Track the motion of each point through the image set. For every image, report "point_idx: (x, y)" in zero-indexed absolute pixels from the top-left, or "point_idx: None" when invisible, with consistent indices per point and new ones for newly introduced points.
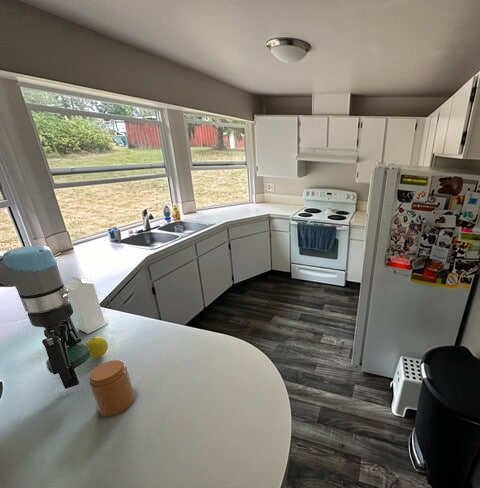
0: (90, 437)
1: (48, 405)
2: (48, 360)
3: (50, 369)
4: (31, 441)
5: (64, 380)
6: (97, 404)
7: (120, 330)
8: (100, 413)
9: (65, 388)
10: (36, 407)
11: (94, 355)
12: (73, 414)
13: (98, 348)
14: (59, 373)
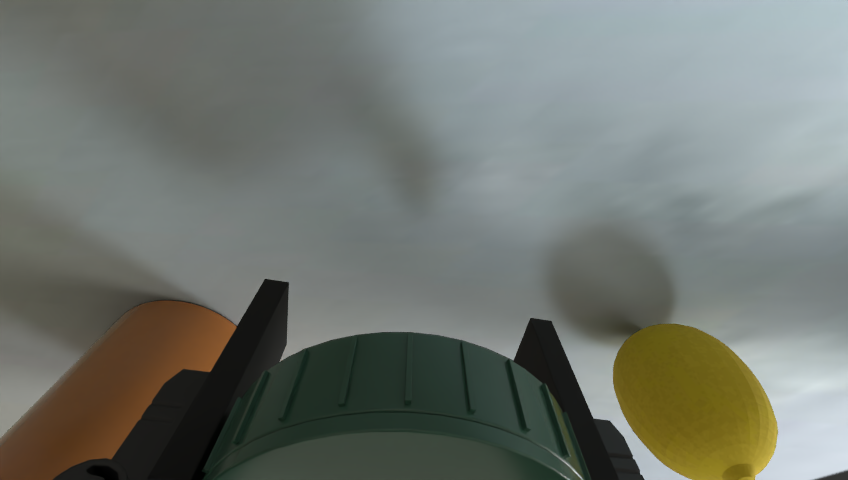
0: (15, 259)
1: (397, 104)
2: (441, 447)
3: (275, 402)
4: (117, 26)
5: (176, 377)
6: (96, 354)
7: (804, 422)
8: (146, 304)
9: (263, 285)
10: (432, 41)
11: (624, 362)
12: (222, 210)
13: (634, 420)
14: (178, 429)
